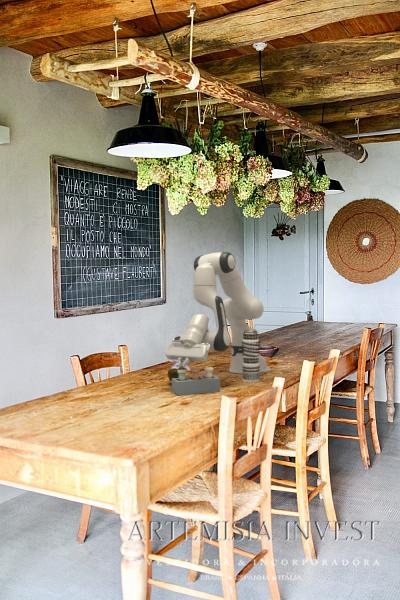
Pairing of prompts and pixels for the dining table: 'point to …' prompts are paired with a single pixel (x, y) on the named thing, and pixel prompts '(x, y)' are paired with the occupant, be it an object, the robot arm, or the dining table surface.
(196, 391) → the grey slotted holder
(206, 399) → the dining table surface
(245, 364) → the decorative candle
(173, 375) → the potato
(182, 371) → the sage button
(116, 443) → the dining table surface
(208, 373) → the cream button
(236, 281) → the robot arm
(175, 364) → the water lily
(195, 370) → the terracotta button
